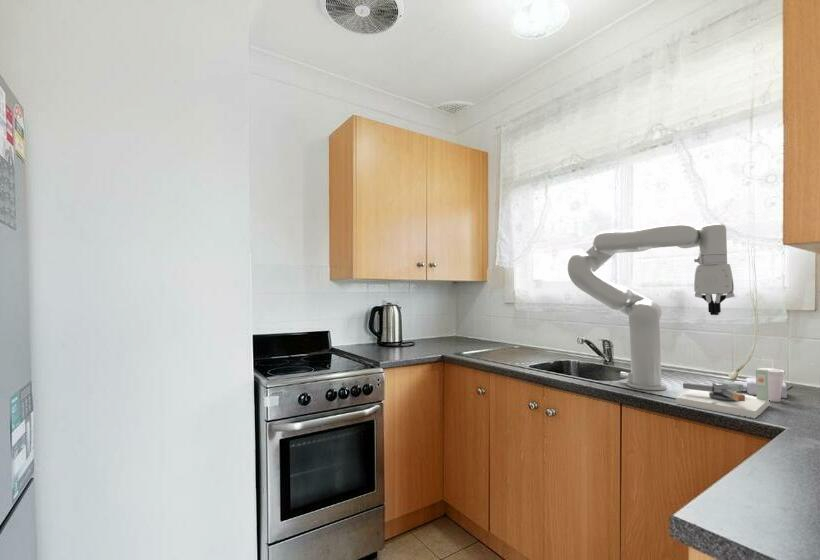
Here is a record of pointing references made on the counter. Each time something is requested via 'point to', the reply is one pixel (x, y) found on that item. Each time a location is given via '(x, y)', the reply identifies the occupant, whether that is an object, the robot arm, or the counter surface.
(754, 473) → the counter surface
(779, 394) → the smoothie
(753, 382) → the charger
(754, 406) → the stand
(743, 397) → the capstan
